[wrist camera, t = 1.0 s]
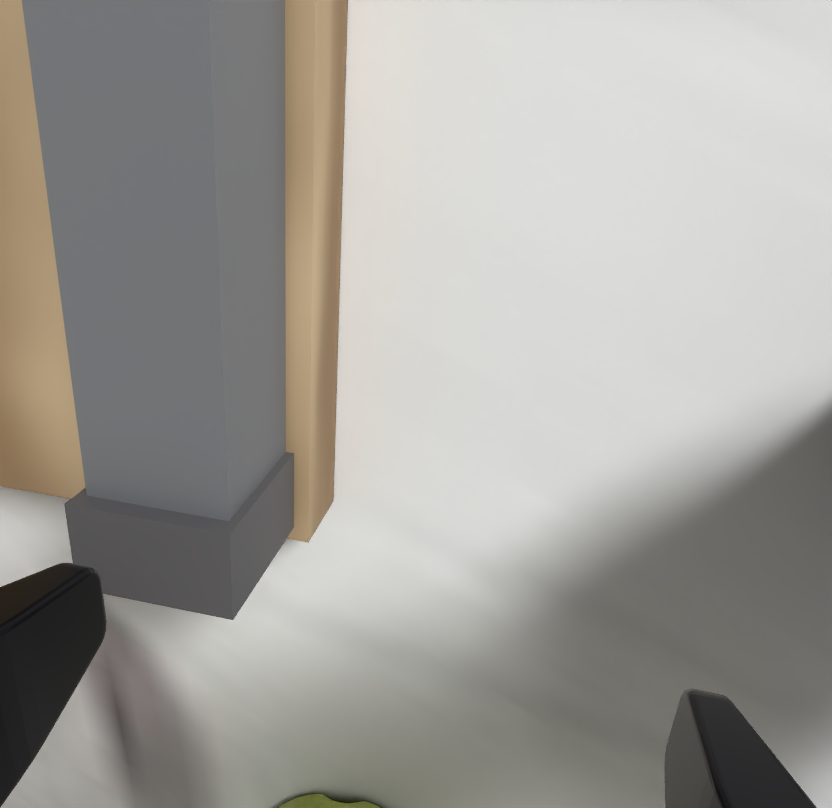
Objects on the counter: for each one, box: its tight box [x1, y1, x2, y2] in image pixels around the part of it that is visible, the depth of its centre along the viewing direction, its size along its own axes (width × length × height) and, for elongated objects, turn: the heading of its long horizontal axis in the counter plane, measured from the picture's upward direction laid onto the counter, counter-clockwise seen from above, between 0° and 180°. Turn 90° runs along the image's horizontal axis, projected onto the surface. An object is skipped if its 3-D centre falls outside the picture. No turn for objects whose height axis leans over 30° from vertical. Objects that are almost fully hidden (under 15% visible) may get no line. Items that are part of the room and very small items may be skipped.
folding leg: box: [22, 0, 294, 620], centre depth 13 cm, size 15×3×4 cm, turn 176°
